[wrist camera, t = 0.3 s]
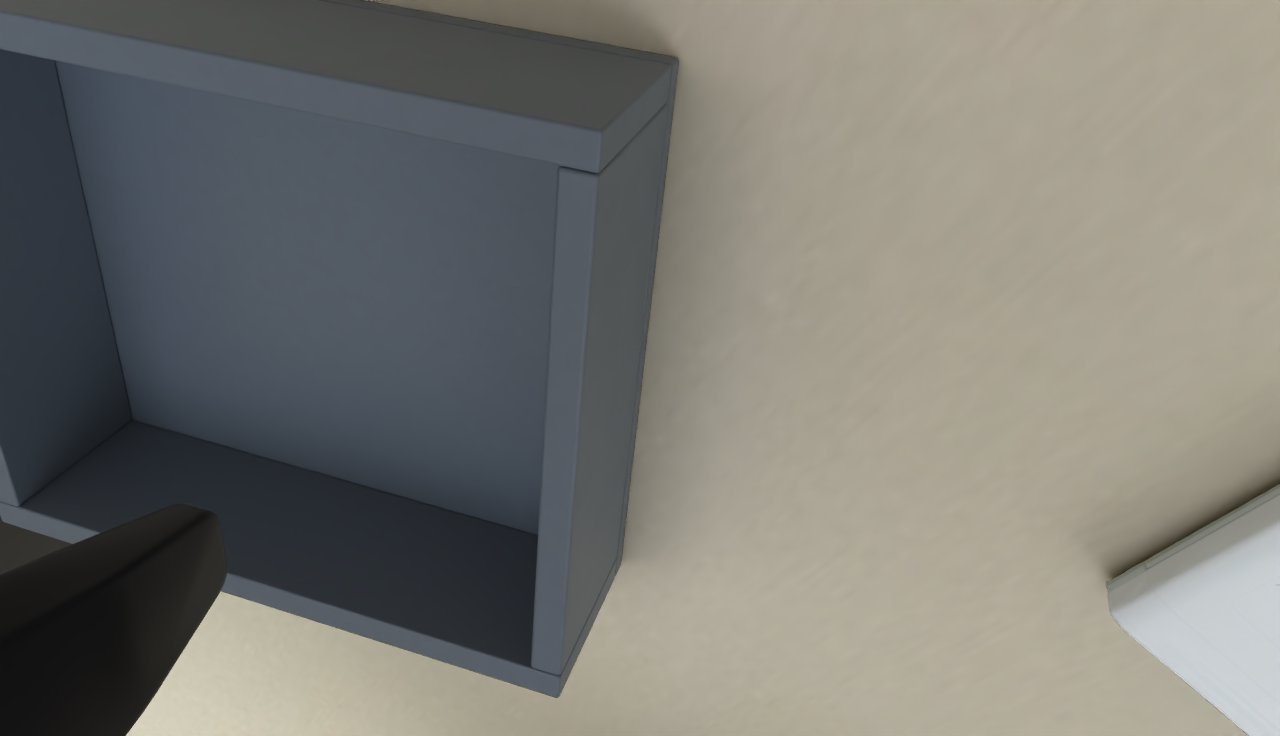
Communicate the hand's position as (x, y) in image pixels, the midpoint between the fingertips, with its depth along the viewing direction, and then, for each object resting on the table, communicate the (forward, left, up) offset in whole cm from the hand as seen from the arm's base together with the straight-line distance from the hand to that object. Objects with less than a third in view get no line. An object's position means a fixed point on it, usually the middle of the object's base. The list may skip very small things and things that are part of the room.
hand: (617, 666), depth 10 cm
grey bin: (-5, +12, -14) cm, 19 cm away
